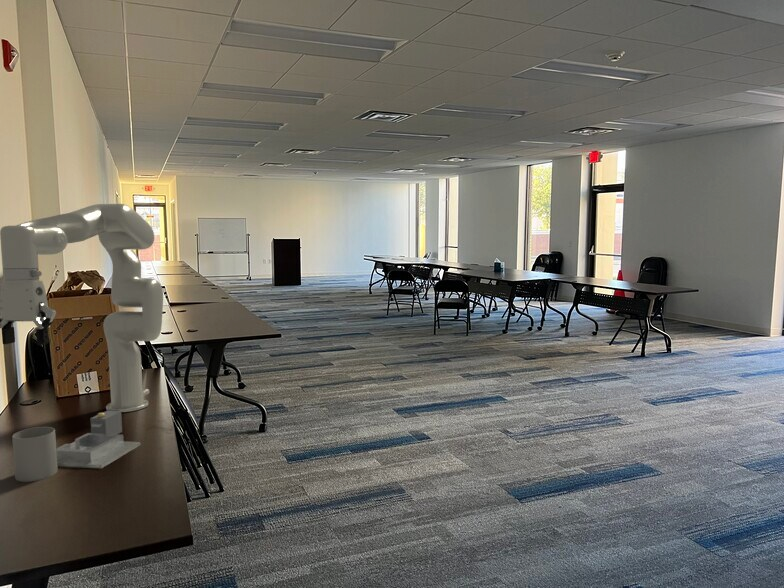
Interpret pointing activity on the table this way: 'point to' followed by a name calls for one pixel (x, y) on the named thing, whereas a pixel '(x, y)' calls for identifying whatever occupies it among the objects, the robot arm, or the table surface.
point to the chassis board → (94, 450)
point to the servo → (107, 423)
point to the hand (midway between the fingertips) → (25, 343)
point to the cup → (34, 454)
